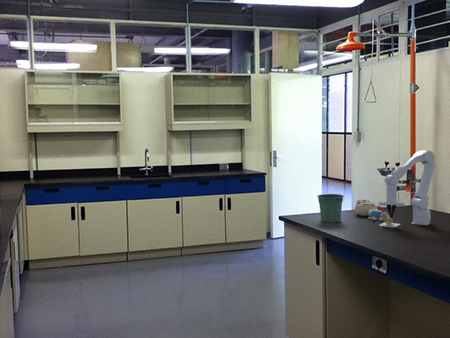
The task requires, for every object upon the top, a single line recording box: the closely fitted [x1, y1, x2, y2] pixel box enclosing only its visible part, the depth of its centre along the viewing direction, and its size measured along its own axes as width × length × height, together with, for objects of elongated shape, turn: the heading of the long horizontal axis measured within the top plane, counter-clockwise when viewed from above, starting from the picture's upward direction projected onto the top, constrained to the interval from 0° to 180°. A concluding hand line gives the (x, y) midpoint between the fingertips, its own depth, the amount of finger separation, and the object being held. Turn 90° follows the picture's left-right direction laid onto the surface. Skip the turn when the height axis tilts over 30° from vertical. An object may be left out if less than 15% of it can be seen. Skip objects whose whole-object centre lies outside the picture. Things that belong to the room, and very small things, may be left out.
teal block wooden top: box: [380, 211, 394, 226], centre depth 300 cm, size 4×6×7 cm
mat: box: [378, 222, 401, 228], centre depth 301 cm, size 10×10×1 cm
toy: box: [354, 199, 384, 221], centre depth 327 cm, size 18×10×30 cm
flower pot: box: [317, 193, 345, 224], centre depth 318 cm, size 16×16×16 cm
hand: (391, 217), depth 300 cm, fingers closed
